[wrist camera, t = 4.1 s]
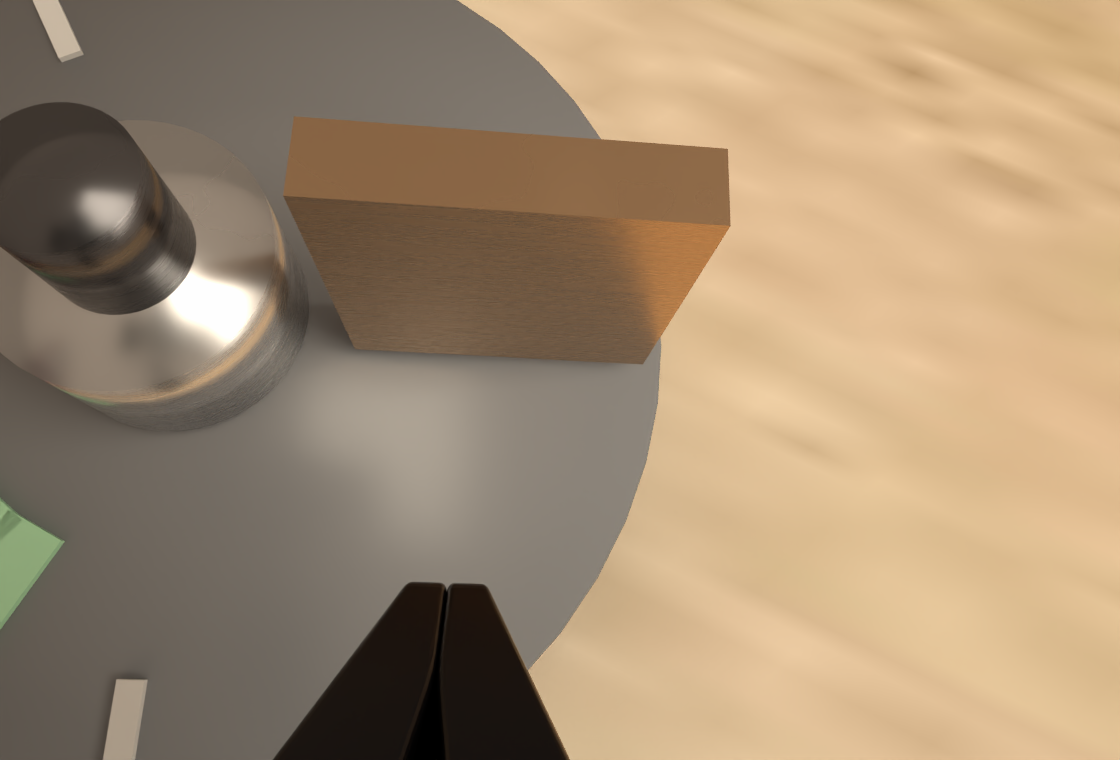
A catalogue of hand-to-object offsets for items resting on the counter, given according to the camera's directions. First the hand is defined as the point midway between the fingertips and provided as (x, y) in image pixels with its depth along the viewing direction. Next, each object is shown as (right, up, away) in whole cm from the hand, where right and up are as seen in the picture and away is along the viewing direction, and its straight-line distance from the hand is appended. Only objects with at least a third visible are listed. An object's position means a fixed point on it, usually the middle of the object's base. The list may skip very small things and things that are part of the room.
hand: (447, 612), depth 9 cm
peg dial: (-7, +4, +8) cm, 11 cm away
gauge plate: (-7, +3, +9) cm, 12 cm away
